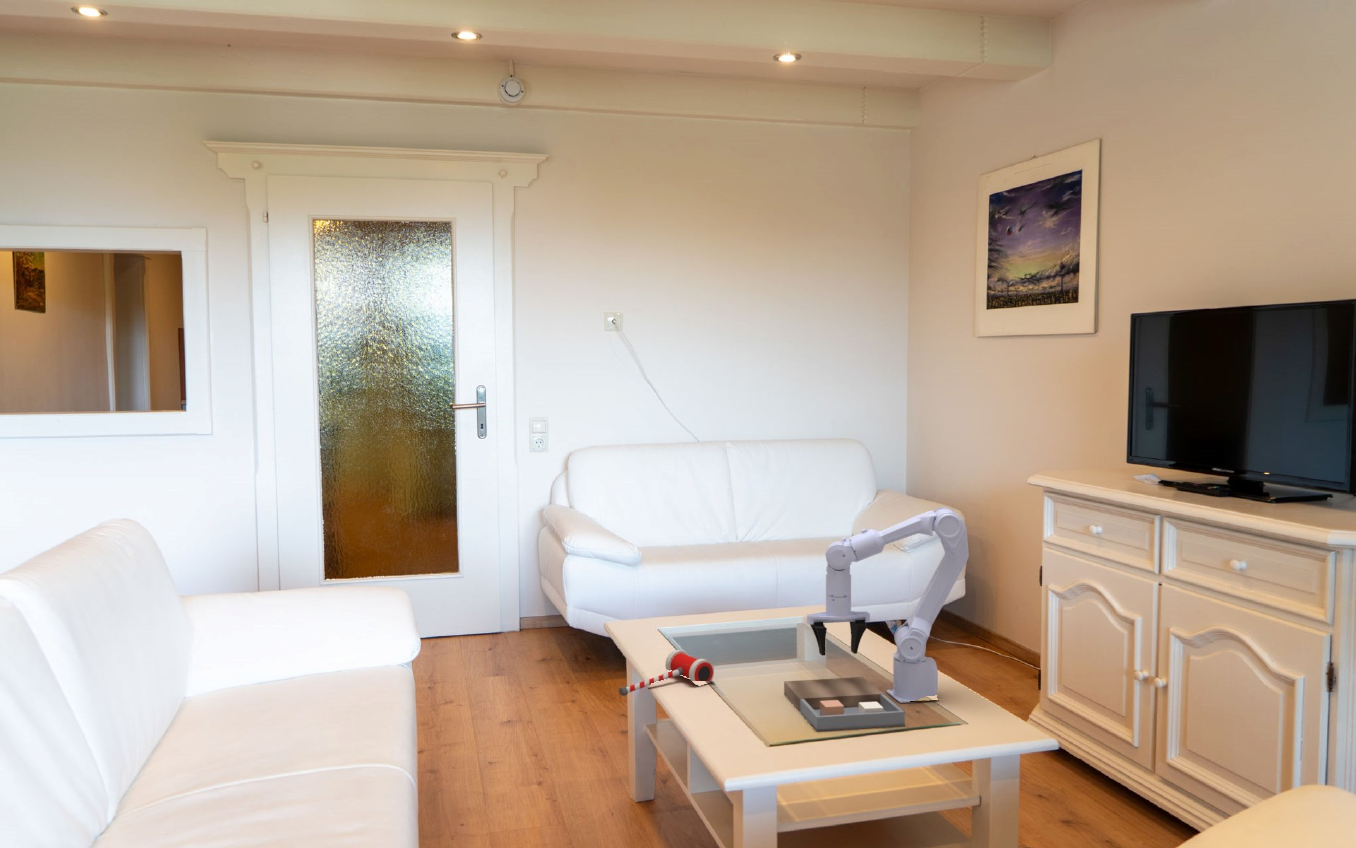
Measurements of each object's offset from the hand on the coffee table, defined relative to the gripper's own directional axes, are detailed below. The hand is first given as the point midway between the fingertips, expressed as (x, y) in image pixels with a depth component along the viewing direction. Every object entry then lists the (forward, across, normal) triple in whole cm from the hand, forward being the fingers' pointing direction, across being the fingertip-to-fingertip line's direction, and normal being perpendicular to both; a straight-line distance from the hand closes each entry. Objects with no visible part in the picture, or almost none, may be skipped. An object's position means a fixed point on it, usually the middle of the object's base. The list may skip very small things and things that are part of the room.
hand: (838, 653), depth 222 cm
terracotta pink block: (+7, +7, +16) cm, 19 cm away
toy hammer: (+10, +37, -14) cm, 41 cm away
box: (+9, +3, +17) cm, 19 cm away
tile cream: (+7, 0, +19) cm, 20 cm away
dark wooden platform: (+9, +3, +4) cm, 11 cm away
